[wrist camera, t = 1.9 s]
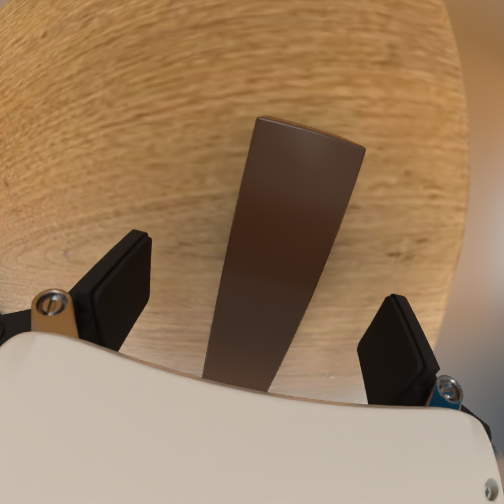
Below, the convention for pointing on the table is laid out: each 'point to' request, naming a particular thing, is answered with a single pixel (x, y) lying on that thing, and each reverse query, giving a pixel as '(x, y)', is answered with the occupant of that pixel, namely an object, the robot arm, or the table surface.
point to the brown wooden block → (277, 246)
